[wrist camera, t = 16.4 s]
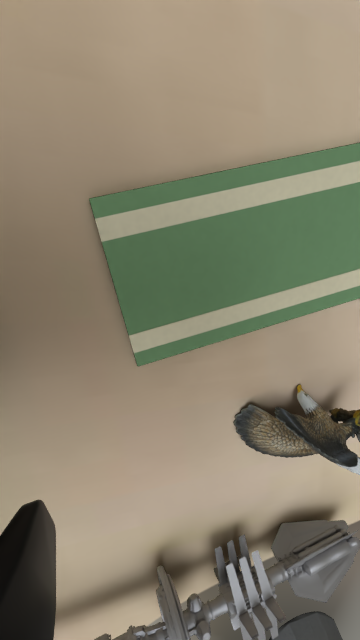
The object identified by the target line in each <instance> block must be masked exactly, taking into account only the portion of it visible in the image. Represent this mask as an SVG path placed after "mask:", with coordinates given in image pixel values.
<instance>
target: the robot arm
mask: <svg viewBox="0 0 360 640" xmlns="http://www.w3.org/2000/svg"><path fill="white" fill-rule="evenodd" d="M55 612H56V531H55V525H54V522H53V520H52V518H51V516H50V514H49V512H48V510H47V508H46V506H45V504H44V503H43V501H42V500H36V501H33V502H30V503H27V504H25V505H23V506H22V507H21V508H20V509H19V510H18V512H17V513H16V514H15V516H14V517H13V519H12V520H11V521H10V523H9V524H8V526H7V527H6V528H5V530H4V531H3V533H2V534H1V535H0V640H53V637H54V626H55Z"/></svg>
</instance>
